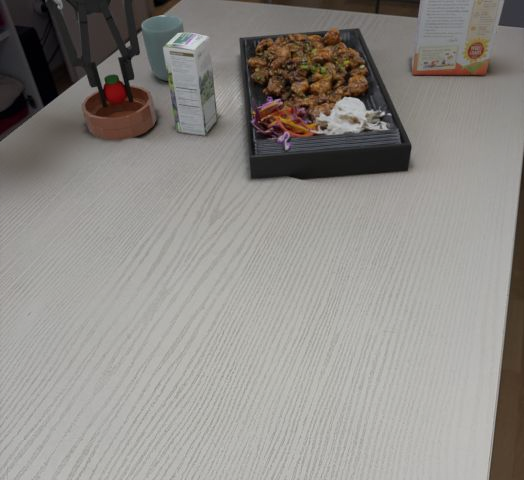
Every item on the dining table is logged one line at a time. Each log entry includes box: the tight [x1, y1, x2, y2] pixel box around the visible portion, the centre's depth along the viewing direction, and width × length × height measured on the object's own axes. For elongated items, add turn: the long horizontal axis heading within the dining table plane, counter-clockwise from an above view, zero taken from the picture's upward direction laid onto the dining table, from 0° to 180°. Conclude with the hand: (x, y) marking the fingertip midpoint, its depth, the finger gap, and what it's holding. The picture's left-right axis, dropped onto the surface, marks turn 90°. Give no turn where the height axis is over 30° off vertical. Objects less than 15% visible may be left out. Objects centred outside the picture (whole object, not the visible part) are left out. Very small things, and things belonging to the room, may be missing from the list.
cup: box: [140, 14, 185, 82], centre depth 107 cm, size 8×8×10 cm
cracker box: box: [410, 0, 505, 76], centre depth 98 cm, size 14×6×21 cm, turn 82°
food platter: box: [239, 27, 413, 180], centre depth 95 cm, size 45×25×10 cm, turn 4°
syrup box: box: [163, 32, 218, 136], centre depth 92 cm, size 6×6×14 cm
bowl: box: [81, 84, 157, 140], centre depth 97 cm, size 12×12×4 cm
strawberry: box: [102, 74, 127, 104], centre depth 94 cm, size 4×4×4 cm
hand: (117, 101), depth 95 cm, fingers closed on strawberry, 4 cm apart
